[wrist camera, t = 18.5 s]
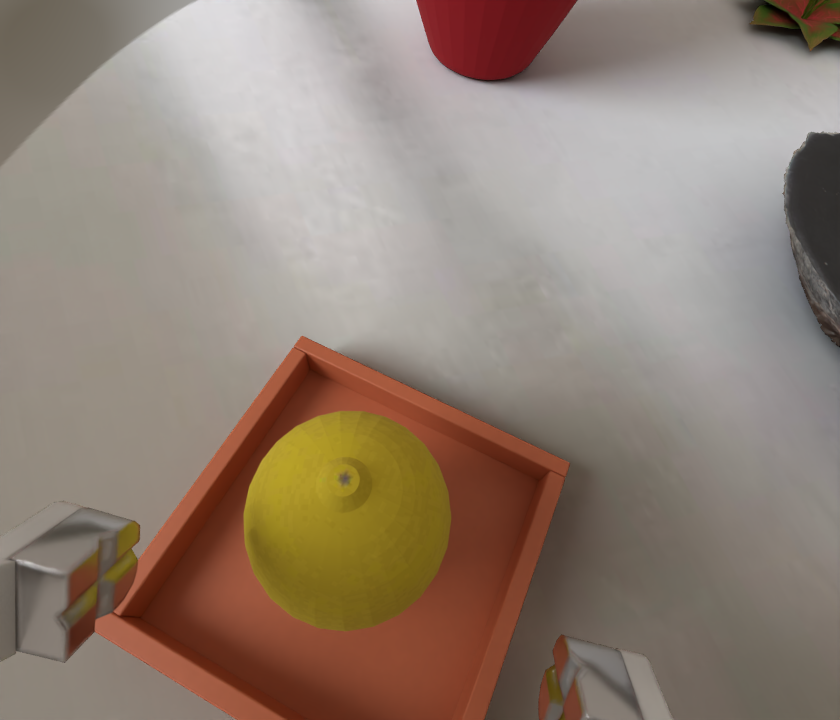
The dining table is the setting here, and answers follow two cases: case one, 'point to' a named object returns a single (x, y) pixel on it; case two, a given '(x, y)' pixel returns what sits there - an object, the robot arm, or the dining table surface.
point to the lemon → (347, 520)
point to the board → (817, 224)
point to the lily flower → (803, 18)
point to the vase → (490, 33)
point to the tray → (331, 649)
